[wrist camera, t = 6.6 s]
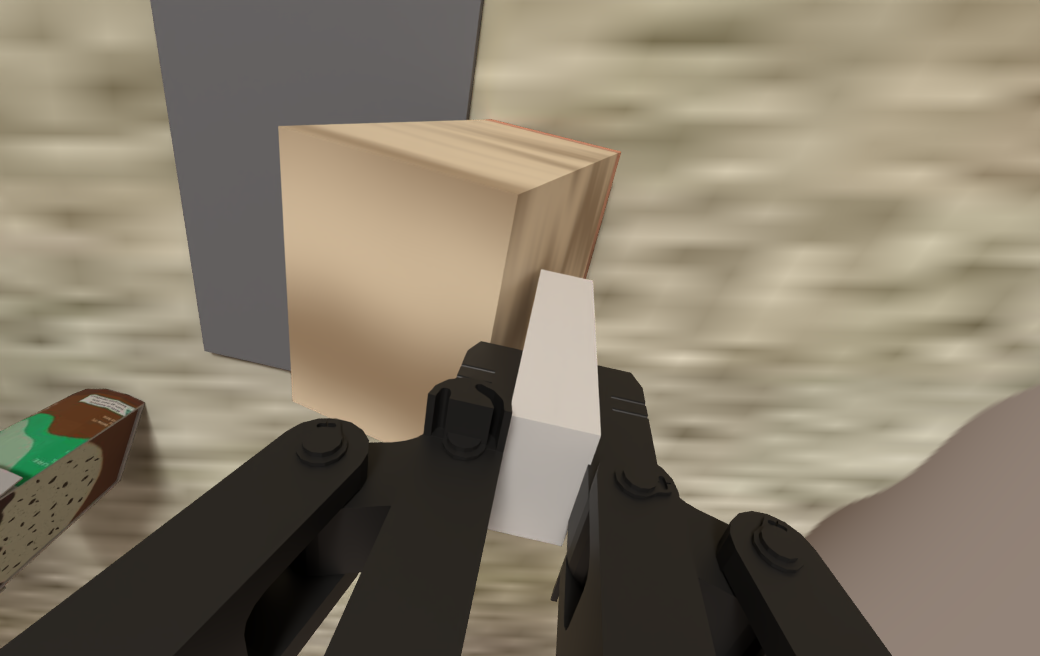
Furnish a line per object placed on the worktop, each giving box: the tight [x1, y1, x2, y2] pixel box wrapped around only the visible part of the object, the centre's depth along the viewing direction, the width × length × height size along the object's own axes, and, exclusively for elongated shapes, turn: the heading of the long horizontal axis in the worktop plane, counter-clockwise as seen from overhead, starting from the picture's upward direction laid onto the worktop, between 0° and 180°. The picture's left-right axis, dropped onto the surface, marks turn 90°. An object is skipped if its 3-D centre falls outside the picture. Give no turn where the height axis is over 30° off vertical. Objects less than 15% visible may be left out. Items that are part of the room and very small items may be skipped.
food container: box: [0, 389, 145, 593], centre depth 29 cm, size 12×6×10 cm, turn 146°
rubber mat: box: [150, 0, 484, 371], centre depth 23 cm, size 24×14×1 cm, turn 169°
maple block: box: [278, 119, 621, 442], centre depth 17 cm, size 8×6×12 cm
